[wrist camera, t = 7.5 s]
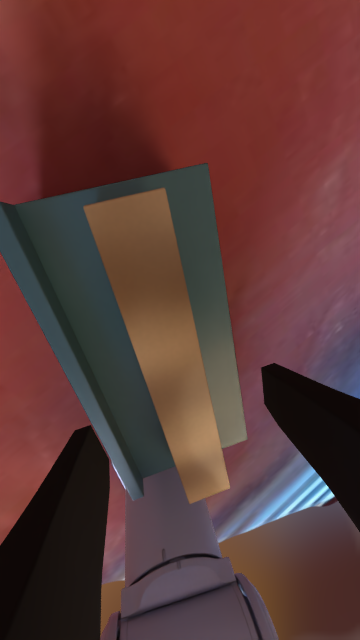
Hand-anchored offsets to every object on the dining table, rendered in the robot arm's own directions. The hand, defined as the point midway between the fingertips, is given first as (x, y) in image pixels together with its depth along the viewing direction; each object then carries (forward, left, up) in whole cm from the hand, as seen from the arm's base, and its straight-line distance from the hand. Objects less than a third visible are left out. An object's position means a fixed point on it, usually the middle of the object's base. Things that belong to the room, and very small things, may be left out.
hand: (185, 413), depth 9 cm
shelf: (0, 0, -10) cm, 10 cm away
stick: (0, 0, -4) cm, 4 cm away
